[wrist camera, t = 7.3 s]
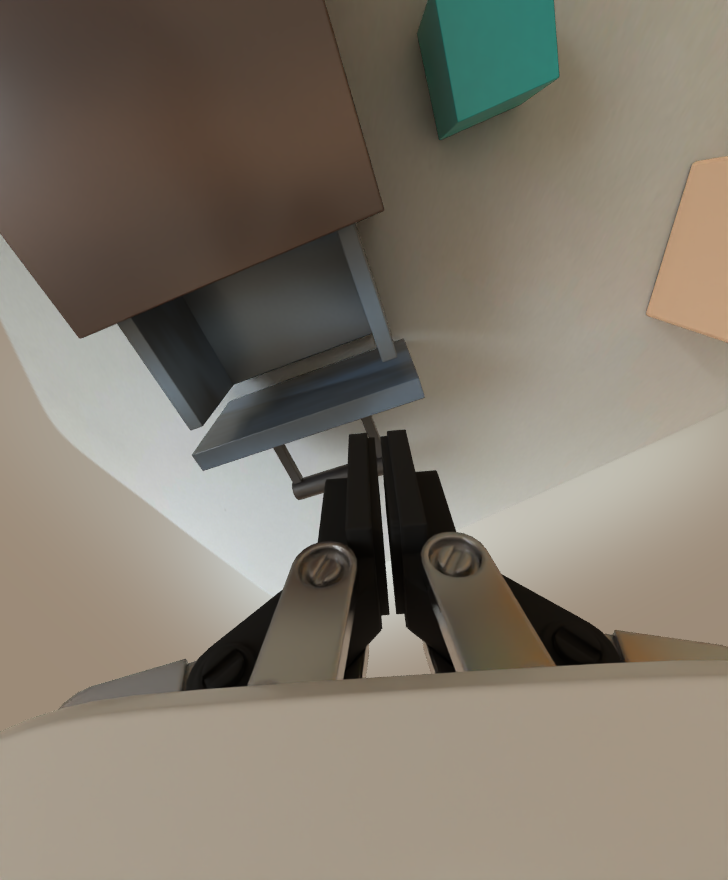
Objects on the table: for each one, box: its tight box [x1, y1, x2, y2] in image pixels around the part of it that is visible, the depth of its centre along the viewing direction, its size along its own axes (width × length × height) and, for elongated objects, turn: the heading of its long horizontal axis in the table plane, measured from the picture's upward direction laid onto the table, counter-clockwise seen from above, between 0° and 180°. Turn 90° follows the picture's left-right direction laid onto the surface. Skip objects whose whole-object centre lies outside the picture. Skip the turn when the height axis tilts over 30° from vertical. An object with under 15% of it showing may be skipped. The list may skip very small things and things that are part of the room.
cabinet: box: [0, 0, 384, 338], centre depth 16 cm, size 15×15×9 cm
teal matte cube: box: [417, 0, 559, 140], centre depth 17 cm, size 4×4×4 cm
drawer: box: [117, 223, 425, 500], centre depth 22 cm, size 19×13×7 cm
